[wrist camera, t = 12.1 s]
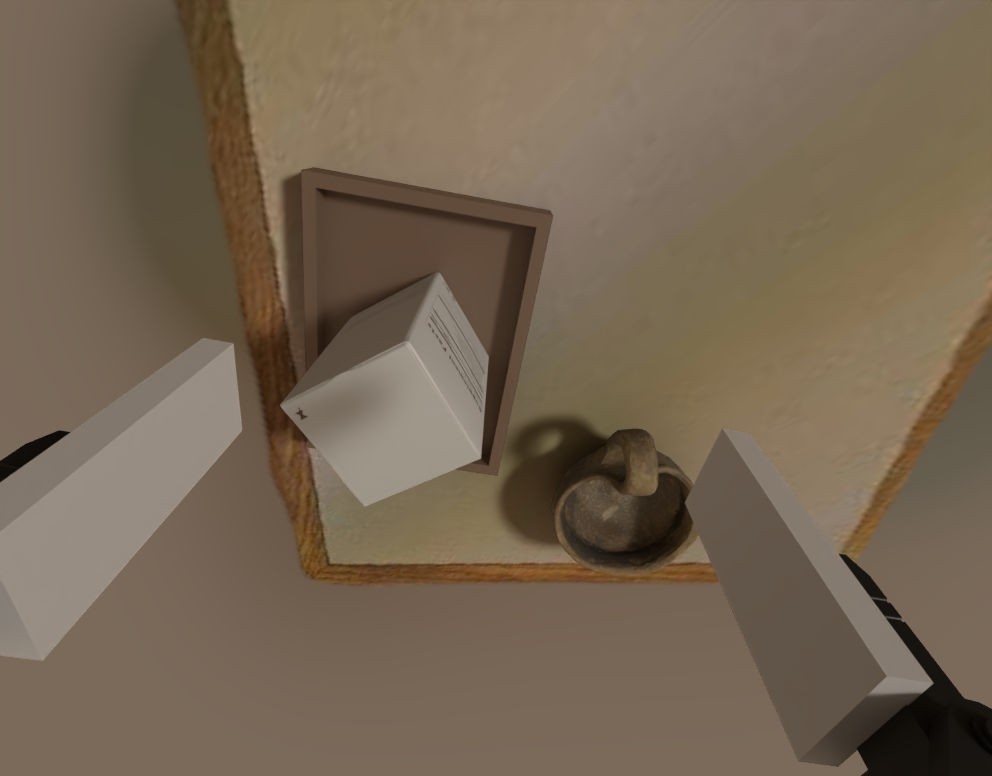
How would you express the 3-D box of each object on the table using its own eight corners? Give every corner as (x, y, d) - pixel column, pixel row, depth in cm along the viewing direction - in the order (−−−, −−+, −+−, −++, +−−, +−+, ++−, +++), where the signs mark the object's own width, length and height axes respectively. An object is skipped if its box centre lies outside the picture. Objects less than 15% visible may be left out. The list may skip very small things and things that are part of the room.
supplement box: (405, 399, 44) (361, 512, 31) (348, 316, 40) (271, 405, 27) (492, 359, 42) (485, 463, 29) (441, 267, 38) (405, 339, 25)
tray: (313, 167, 36) (301, 169, 33) (550, 210, 37) (553, 215, 34) (317, 432, 47) (307, 447, 45) (497, 459, 48) (497, 475, 46)
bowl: (548, 534, 53) (556, 615, 44) (548, 395, 44) (558, 460, 36) (675, 531, 52) (708, 613, 43) (699, 390, 44) (747, 456, 35)
